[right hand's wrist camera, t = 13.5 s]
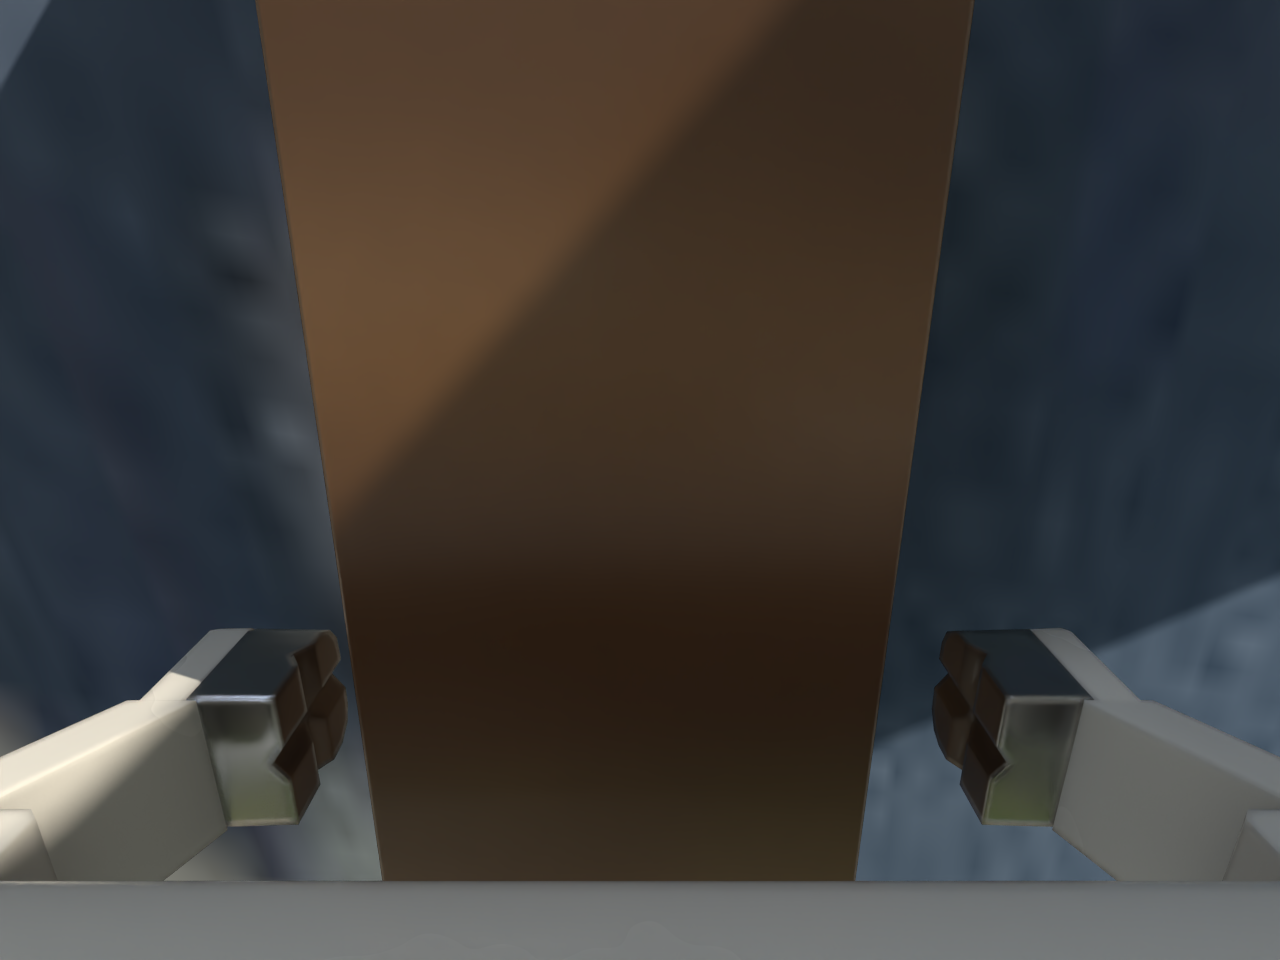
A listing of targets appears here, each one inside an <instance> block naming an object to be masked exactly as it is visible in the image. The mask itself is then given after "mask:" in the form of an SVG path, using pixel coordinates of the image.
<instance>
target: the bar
mask: <svg viewBox="0 0 1280 960" xmlns="http://www.w3.org/2000/svg"><path fill="white" fill-rule="evenodd" d="M255 2H256V9H257V16H258V23H259V30H260V37H261V43H262V50H263V57H264V64H265V71H266V78H267V85H268V92H269V99H270V106H271V113H272V120H273V126H274V133H275V140H276V147H277V154H278V161H279V168H280V175H281V182H282V189H283V196H284V203H285V209H286V216H287V223H288V230H289V237H290V244H291V251H292V258H293V265H294V272H295V279H296V286H297V293H298V299H299V306H300V313H301V320H302V327H303V334H304V341H305V348H306V355H307V362H308V369H309V376H310V382H311V389H312V396H313V403H314V410H315V417H316V424H317V431H318V438H319V445H320V452H321V459H322V465H323V472H324V479H325V486H326V493H327V500H328V507H329V514H330V521H331V528H332V535H333V542H334V548H335V555H336V562H337V569H338V576H339V583H340V590H341V597H342V604H343V611H344V618H345V625H346V631H347V638H348V645H349V652H350V659H351V666H352V673H353V680H354V687H355V694H356V701H357V708H358V715H359V721H360V728H361V735H362V742H363V749H364V756H365V763H366V770H367V777H368V784H369V791H370V798H371V804H372V811H373V818H374V825H375V832H376V839H377V846H378V853H379V860H380V867H381V874H382V881H855V878H856V871H857V864H858V856H859V849H860V842H861V834H862V827H863V819H864V812H865V805H866V797H867V790H868V783H869V775H870V768H871V761H872V753H873V746H874V738H875V731H876V724H877V716H878V709H879V702H880V694H881V687H882V680H883V672H884V665H885V657H886V650H887V643H888V635H889V628H890V621H891V613H892V606H893V599H894V591H895V584H896V576H897V569H898V562H899V554H900V547H901V540H902V532H903V525H904V517H905V510H906V503H907V495H908V488H909V481H910V473H911V466H912V459H913V451H914V444H915V436H916V429H917V422H918V414H919V407H920V400H921V392H922V385H923V378H924V370H925V363H926V355H927V348H928V341H929V333H930V326H931V319H932V311H933V304H934V297H935V289H936V282H937V274H938V267H939V260H940V252H941V245H942V238H943V230H944V223H945V216H946V208H947V201H948V193H949V186H950V179H951V171H952V164H953V157H954V149H955V142H956V135H957V127H958V120H959V112H960V105H961V98H962V90H963V83H964V76H965V68H966V61H967V54H968V46H969V39H970V31H971V24H972V17H973V9H974V2H975V0H255Z"/></svg>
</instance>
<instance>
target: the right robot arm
mask: <svg viewBox="0 0 1280 960" xmlns="http://www.w3.org/2000/svg"><path fill="white" fill-rule="evenodd" d="M340 659H341V657H340V652H339V647H338V642H337V637H336V636H335V635H334V634H333V633H332V632H331V631H330V630H301V629H253V628H227V629H216V630H211V631H209V632H208V633H207V634H206V635H205V636H204V637H203V638H202V639H201V640H200V641H199V642H198V643H197V644H196V645H195V646H194V647H193V648H192V649H191V650H190V651H189V652H188V653H187V654H186V655H185V656H184V657H183V658H182V659H181V660H180V661H179V662H178V663H177V664H176V665H175V666H174V667H173V668H172V669H171V670H170V671H169V672H168V673H167V674H166V675H165V676H164V677H163V678H162V679H161V680H160V681H159V682H158V683H157V684H156V685H155V686H154V687H153V688H152V689H151V690H150V691H149V692H148V693H147V694H146V695H145V696H144V697H143V698H142V699H141V700H127V701H125V702H122V703H120V704H118V705H116V706H113V707H111V708H109V709H107V710H104V711H102V712H100V713H98V714H95V715H93V716H91V717H89V718H86V719H84V720H82V721H80V722H78V723H75V724H73V725H71V726H69V727H66V728H64V729H62V730H60V731H57V732H55V733H53V734H51V735H48V736H46V737H44V738H42V739H39V740H37V741H35V742H33V743H30V744H28V745H26V746H24V747H21V748H19V749H17V750H15V751H13V752H10V753H8V754H6V755H4V756H1V757H0V960H1280V757H1278V756H1276V755H1274V754H1272V753H1269V752H1267V751H1265V750H1263V749H1260V748H1258V747H1256V746H1254V745H1252V744H1249V743H1247V742H1245V741H1243V740H1240V739H1238V738H1236V737H1234V736H1231V735H1229V734H1227V733H1225V732H1222V731H1220V730H1218V729H1216V728H1214V727H1211V726H1209V725H1207V724H1205V723H1202V722H1200V721H1198V720H1196V719H1193V718H1191V717H1189V716H1187V715H1184V714H1182V713H1180V712H1178V711H1176V710H1173V709H1171V708H1169V707H1167V706H1164V705H1162V704H1160V703H1158V702H1155V701H1153V700H1140V699H1139V698H1138V697H1137V696H1135V695H1134V694H1133V693H1132V692H1131V691H1130V690H1129V689H1128V688H1127V687H1126V686H1125V685H1124V684H1123V683H1122V682H1121V681H1120V680H1119V679H1118V678H1117V677H1116V676H1115V675H1114V674H1113V673H1112V672H1111V671H1110V670H1109V669H1108V668H1107V667H1106V666H1105V665H1104V664H1103V663H1102V662H1101V661H1100V660H1099V659H1098V658H1097V657H1096V656H1095V655H1094V654H1093V653H1092V652H1091V651H1090V650H1089V649H1088V648H1087V647H1086V646H1085V645H1084V644H1083V643H1082V642H1081V641H1080V640H1079V639H1078V638H1077V637H1076V636H1075V635H1074V634H1073V633H1072V632H1071V631H1068V630H1066V629H1063V628H1043V629H1015V630H975V631H947V633H946V635H945V637H944V639H943V641H942V645H941V651H940V657H939V659H940V661H941V662H942V664H943V666H944V667H945V669H946V670H947V672H948V674H947V675H946V676H945V677H944V678H943V679H942V680H941V681H940V682H939V683H938V684H937V685H936V686H935V688H934V696H933V704H932V716H933V726H934V732H935V735H936V738H937V742H938V745H939V747H940V749H941V751H942V753H943V755H944V756H945V758H946V760H948V761H949V762H951V763H952V764H954V765H955V766H957V767H959V768H960V769H962V774H961V780H960V786H961V788H962V790H963V791H964V793H965V795H966V797H967V799H968V800H969V802H970V804H971V806H972V808H973V809H974V811H975V813H976V815H977V817H978V818H979V820H980V822H981V824H982V825H1013V826H1049V827H1053V829H1052V830H1053V831H1055V832H1056V833H1057V834H1058V835H1060V836H1061V837H1062V838H1063V839H1065V840H1066V841H1067V842H1069V843H1070V844H1071V845H1072V846H1074V847H1075V848H1076V849H1077V850H1079V851H1080V852H1081V853H1082V854H1084V855H1085V856H1086V857H1088V858H1089V859H1090V860H1091V861H1093V862H1094V863H1095V864H1096V865H1098V866H1099V867H1100V868H1101V869H1103V870H1104V871H1105V872H1107V873H1108V874H1109V875H1110V876H1112V877H1113V878H1114V879H1115V880H1117V881H164V880H165V879H166V878H167V877H169V876H170V875H171V874H172V873H174V872H175V871H176V870H178V869H179V868H180V867H181V866H183V865H184V864H185V863H186V862H188V861H189V860H190V859H191V858H193V857H194V856H195V855H197V854H198V853H199V852H200V851H202V850H203V849H204V848H205V847H207V846H208V845H209V844H211V843H212V842H213V841H214V840H216V839H217V838H218V837H219V836H221V835H222V834H223V833H225V832H226V831H227V827H231V826H265V825H298V824H299V822H300V820H301V819H302V817H303V815H304V813H305V811H306V809H307V808H308V806H309V804H310V802H311V800H312V799H313V797H314V795H315V793H316V791H317V790H318V788H319V786H320V779H319V774H318V769H320V768H322V767H323V766H325V765H326V764H328V763H329V762H331V761H332V760H334V758H335V756H336V754H337V753H338V751H339V749H340V747H341V745H342V743H343V738H344V734H345V730H346V726H347V721H348V701H347V694H346V687H345V686H344V685H343V684H342V683H341V682H340V681H339V680H338V679H337V678H336V677H335V676H334V675H333V674H332V672H333V670H334V669H335V667H336V666H337V664H338V662H339V661H340Z"/></svg>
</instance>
